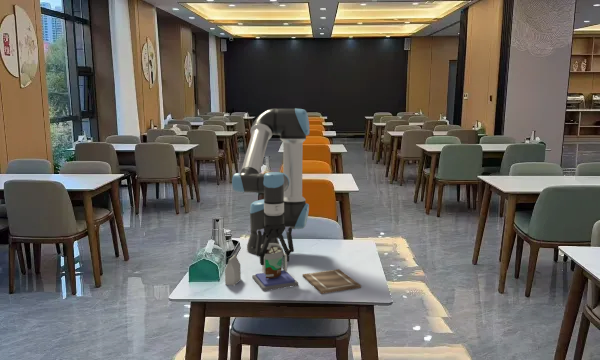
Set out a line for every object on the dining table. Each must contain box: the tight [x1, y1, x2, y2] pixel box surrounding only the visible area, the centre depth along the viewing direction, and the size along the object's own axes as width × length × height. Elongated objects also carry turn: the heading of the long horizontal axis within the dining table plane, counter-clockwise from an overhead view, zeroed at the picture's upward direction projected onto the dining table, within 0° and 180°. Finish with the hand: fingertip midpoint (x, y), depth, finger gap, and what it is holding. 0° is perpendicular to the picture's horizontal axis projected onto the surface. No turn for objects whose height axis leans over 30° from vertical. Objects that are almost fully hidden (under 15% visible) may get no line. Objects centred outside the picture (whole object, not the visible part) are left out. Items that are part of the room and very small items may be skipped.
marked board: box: [302, 268, 362, 295], centre depth 202 cm, size 19×16×1 cm
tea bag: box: [224, 254, 242, 286], centre depth 202 cm, size 4×7×10 cm, turn 166°
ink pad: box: [252, 269, 299, 292], centre depth 203 cm, size 14×14×2 cm
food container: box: [265, 245, 285, 279], centre depth 201 cm, size 12×6×10 cm, turn 172°
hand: (274, 271), depth 202 cm, fingers closed on food container, 8 cm apart
